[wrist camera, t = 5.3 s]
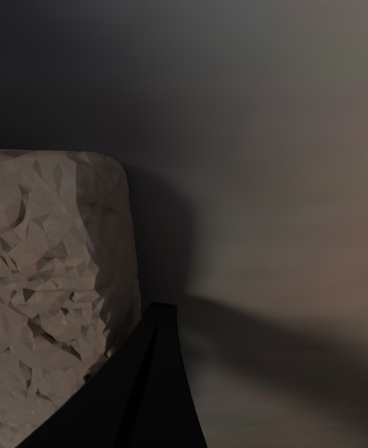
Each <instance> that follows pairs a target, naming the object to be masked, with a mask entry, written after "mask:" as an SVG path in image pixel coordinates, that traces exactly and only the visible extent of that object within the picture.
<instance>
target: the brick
mask: <svg viewBox="0 0 368 448" xmlns="http://www.w3.org/2000/svg"><path fill="white" fill-rule="evenodd" d="M137 274H138V265H137V254H136V251H135V239H134V230H133V220H132V215H131V210H130V202H129V186H128V183H127V175H126V173H125V171H124V169H123V167H122V166H121V165H120V163H119V162H118V161H116V160H114V159H113V158H111V157H109V156H104V155H102V154H99V153H96V152H87V151H82V152H76V151H50V150H41V151H36V150H17V149H0V444H1V445H2V446H3V447H4V448H15V447H16V446H17V445H18V444H20V443H21V442H22V441H23V440H24V439H25V438H26V437H27V436H29V435H30V434H31V433H32V432H33V431H34V430H35V429H37V428H38V427H39V426H40V425H41V424H42V423H43V422H45V421H46V420H47V419H48V418H49V417H50V416H51V415H52V414H54V413H55V412H56V411H57V410H58V409H59V408H60V407H61V406H62V405H63V404H64V403H65V402H66V401H67V400H68V399H69V398H70V397H72V396H73V395H74V394H75V393H76V392H77V391H78V390H79V389H80V388H81V387H82V386H83V385H84V384H85V383H86V382H87V381H88V380H89V379H90V378H91V377H92V376H93V375H94V374H95V373H96V372H97V370H98V369H99V368H100V367H101V366H102V365H103V364H104V363H105V362H106V361H107V360H108V359H109V357H110V356H111V355H112V354H113V353H114V352H115V350H116V349H117V348H118V347H119V346H120V345H121V343H122V342H123V341H124V340H125V339H126V337H127V336H128V335H129V334H130V332H131V331H132V330H133V328H134V327H135V326H136V325H137V323H138V322H139V320H140V319H141V318H142V316H141V313H140V311H141V302H142V301H141V296H140V287H139V280H138V278H137Z"/></svg>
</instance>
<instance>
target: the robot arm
mask: <svg viewBox="0 0 368 448" xmlns="http://www.w3.org/2000/svg"><path fill="white" fill-rule="evenodd" d="M15 448H208V447H207V444H206V441H205V438H204V435H203V432H202V429H201V426H200V423H199V420H198V416H197V413H196V410H195V406H194V403H193V400H192V396H191V392H190V389H189V385H188V381H187V377H186V373H185V368H184V364H183V359H182V354H181V349H180V343H179V337H178V329H177V306H176V305H172V304H165V303H158V302H152V303H151V304H150V305H149V307H148V309H147V310H146V312H145V313H144V315H143V316H142V318H141V319H140V320H139V322H138V323H137V325H136V326H135V327H134V328H133V330H132V331H131V332H130V334H129V335H128V336H127V337H126V339H125V340H124V341H123V342H122V343H121V345H120V346H119V347H118V348H117V349H116V350H115V352H114V353H113V354H112V355H111V356H110V357H109V359H108V360H107V361H106V362H105V363H104V364H103V365H102V366H101V367H100V368H99V369H98V370H97V372H96V373H95V374H94V375H93V376H92V377H91V378H90V379H89V380H88V381H87V382H86V383H85V384H84V385H83V386H82V387H81V388H80V389H79V390H78V391H77V392H76V393H75V394H74V395H73V396H72V397H70V398H69V399H68V400H67V401H66V402H65V403H64V404H63V405H62V406H61V407H60V408H59V409H58V410H57V411H56V412H55V413H54V414H52V415H51V416H50V417H49V418H48V419H47V420H46V421H45V422H43V423H42V424H41V425H40V426H39V427H38V428H37V429H35V430H34V431H33V432H32V433H31V434H30V435H29V436H27V437H26V438H25V439H24V440H23V441H22V442H21V443H20V444H18V445H17V446H16V447H15Z"/></svg>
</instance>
